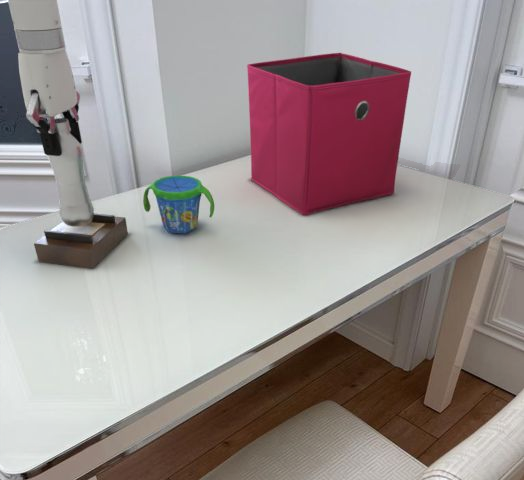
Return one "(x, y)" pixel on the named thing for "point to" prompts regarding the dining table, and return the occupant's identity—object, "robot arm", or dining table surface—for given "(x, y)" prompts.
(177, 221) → the snack cup
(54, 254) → the brown wooden base
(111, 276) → the dining table surface
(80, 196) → the silver metal bottle
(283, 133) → the storage bin
